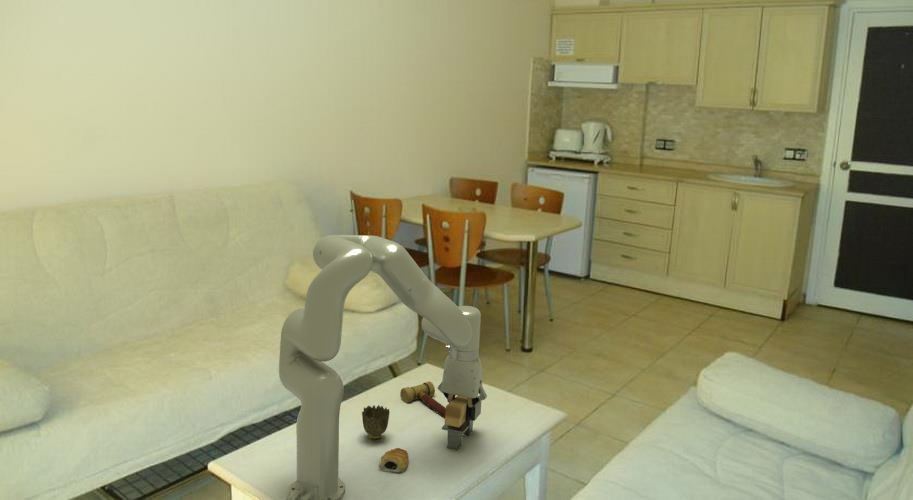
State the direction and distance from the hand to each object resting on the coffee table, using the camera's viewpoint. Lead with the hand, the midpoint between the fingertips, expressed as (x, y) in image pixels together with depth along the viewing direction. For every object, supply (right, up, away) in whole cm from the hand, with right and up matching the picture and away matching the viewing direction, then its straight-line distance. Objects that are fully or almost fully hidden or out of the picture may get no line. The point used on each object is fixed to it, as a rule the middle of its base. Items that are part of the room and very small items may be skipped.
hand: (460, 416), depth 192 cm
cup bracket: (+1, -6, +6) cm, 9 cm away
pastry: (-17, -10, -12) cm, 23 cm away
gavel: (-8, -3, +20) cm, 22 cm away
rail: (0, 0, -1) cm, 1 cm away
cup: (-23, -6, +1) cm, 24 cm away
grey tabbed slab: (-2, -8, -2) cm, 8 cm away
